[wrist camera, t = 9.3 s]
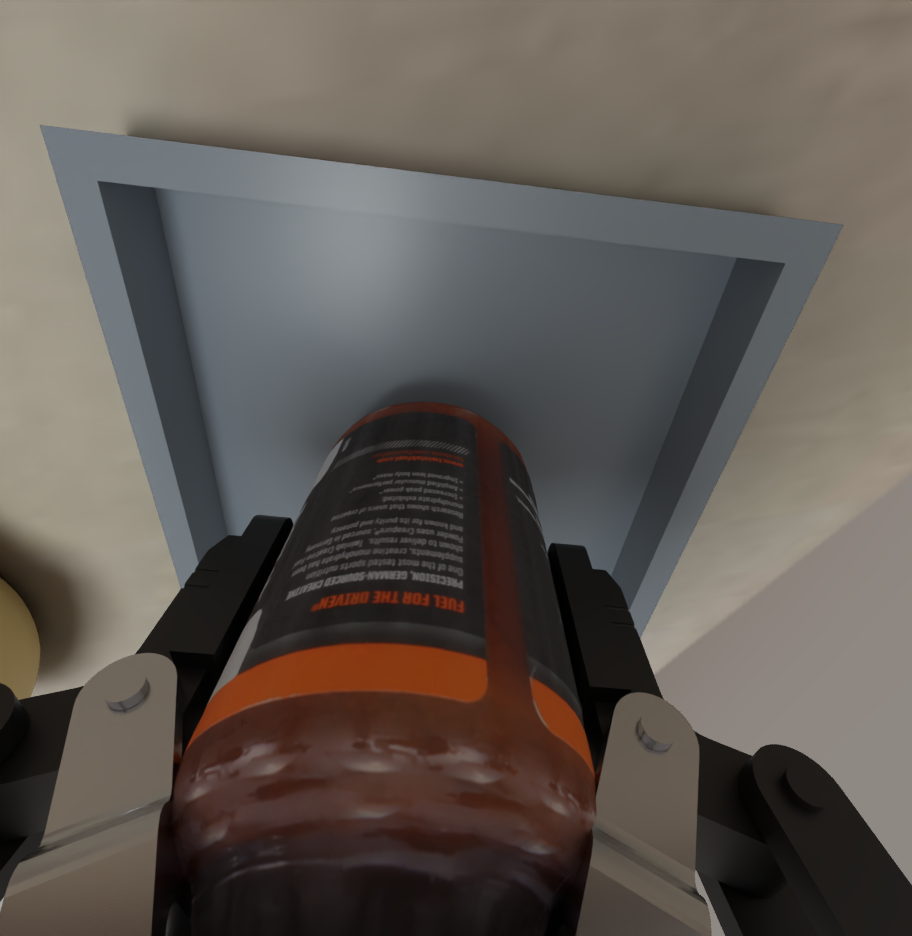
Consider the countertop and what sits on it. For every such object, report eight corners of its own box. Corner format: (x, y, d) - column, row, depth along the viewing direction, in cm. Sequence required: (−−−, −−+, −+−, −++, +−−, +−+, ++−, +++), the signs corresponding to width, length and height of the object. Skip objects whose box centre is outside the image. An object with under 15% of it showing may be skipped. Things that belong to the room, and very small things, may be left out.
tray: (124, 136, 11) (40, 124, 9) (772, 216, 11) (843, 224, 9) (230, 598, 19) (200, 651, 17) (600, 630, 20) (616, 685, 17)
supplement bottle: (283, 455, 13) (-232, 1228, 3) (463, 349, 11) (450, 1309, 2) (402, 585, 16) (303, 1222, 6) (563, 515, 14) (777, 1251, 4)
